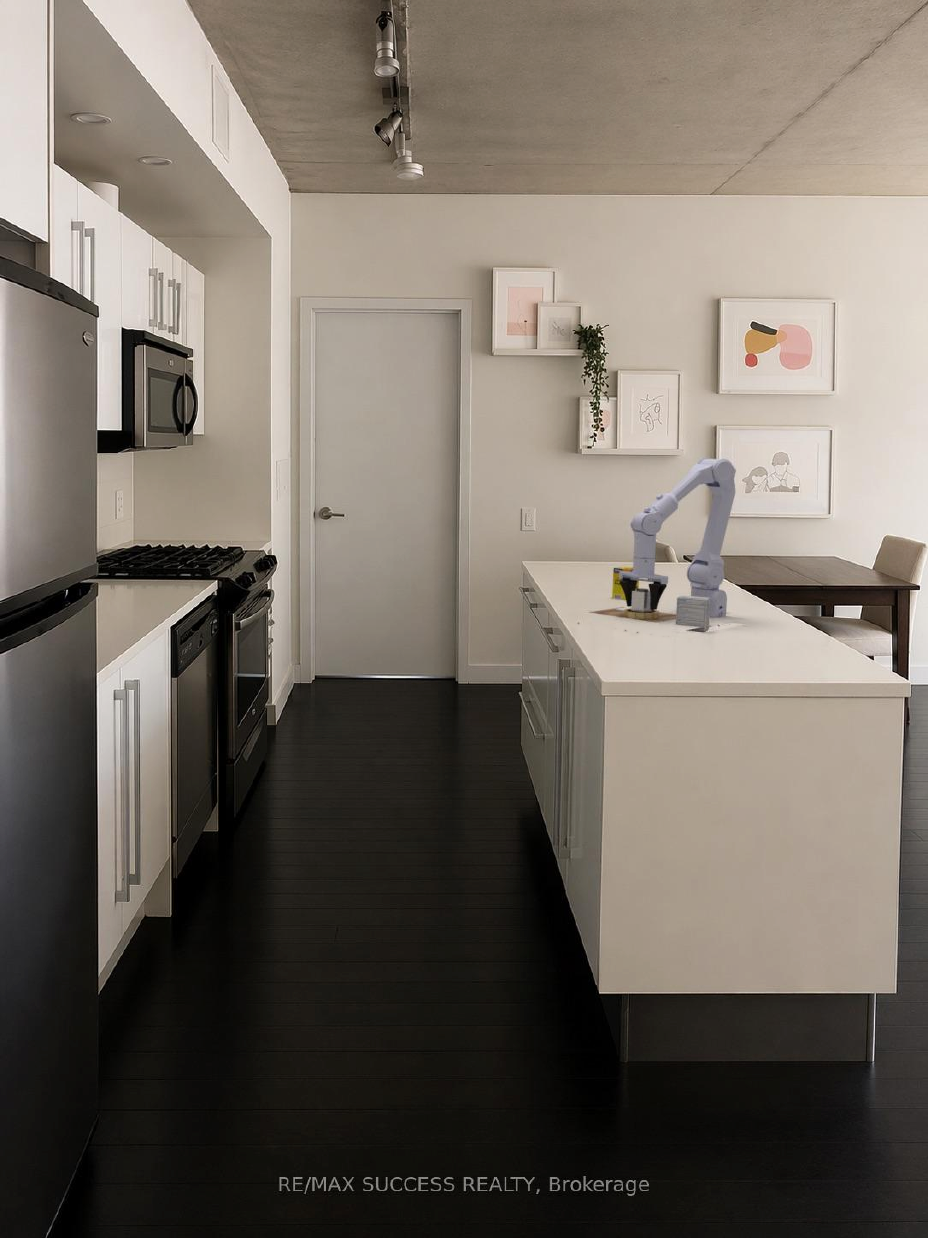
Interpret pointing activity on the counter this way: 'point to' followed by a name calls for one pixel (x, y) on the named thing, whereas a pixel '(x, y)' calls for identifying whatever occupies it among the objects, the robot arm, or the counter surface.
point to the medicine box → (693, 612)
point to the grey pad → (622, 609)
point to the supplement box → (617, 589)
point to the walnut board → (621, 614)
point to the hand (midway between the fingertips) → (641, 607)
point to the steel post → (641, 601)
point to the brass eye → (641, 614)
